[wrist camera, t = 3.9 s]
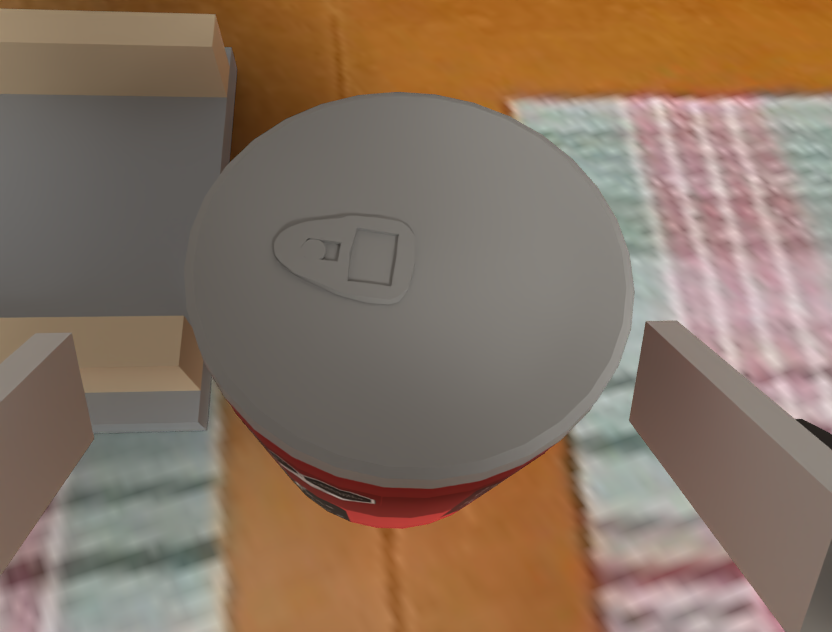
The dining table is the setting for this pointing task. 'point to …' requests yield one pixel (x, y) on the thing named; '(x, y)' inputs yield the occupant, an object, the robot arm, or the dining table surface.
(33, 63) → the track
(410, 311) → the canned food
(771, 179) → the dining table surface
